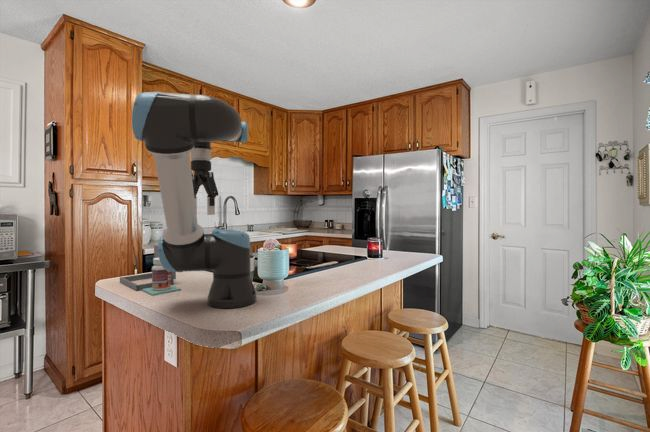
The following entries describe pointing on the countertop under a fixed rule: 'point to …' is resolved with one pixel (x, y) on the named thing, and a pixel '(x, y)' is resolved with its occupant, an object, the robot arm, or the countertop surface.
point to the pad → (155, 292)
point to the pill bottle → (160, 276)
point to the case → (143, 277)
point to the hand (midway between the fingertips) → (201, 214)
